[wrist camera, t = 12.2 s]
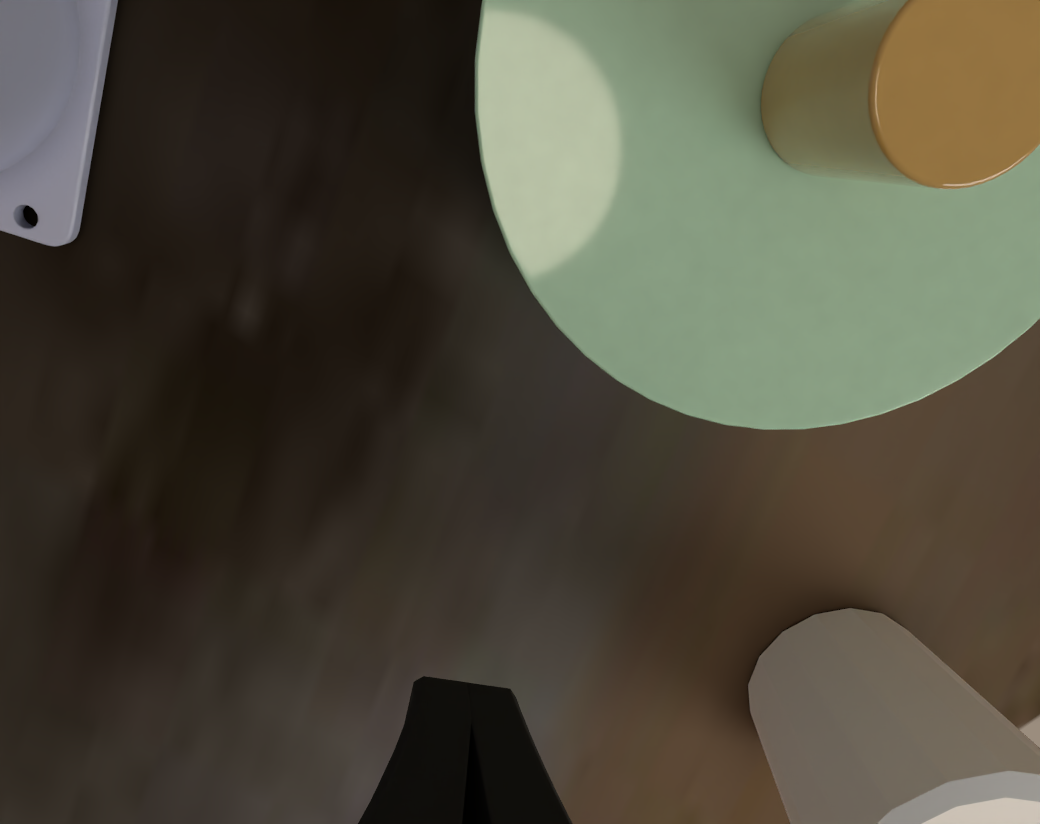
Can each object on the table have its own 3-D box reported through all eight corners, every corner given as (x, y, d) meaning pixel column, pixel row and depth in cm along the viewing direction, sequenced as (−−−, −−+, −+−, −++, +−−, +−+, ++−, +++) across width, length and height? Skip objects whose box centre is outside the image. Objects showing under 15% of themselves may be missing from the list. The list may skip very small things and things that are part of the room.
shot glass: (862, 549, 22) (1030, 722, 15) (978, 679, 24) (1170, 882, 17) (684, 686, 23) (770, 899, 17) (809, 798, 25) (928, 1028, 19)
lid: (389, 301, 13) (353, 376, 9) (630, -486, 10) (752, -951, 6) (917, 478, 15) (1089, 608, 11) (1268, -127, 12) (1710, -273, 8)
